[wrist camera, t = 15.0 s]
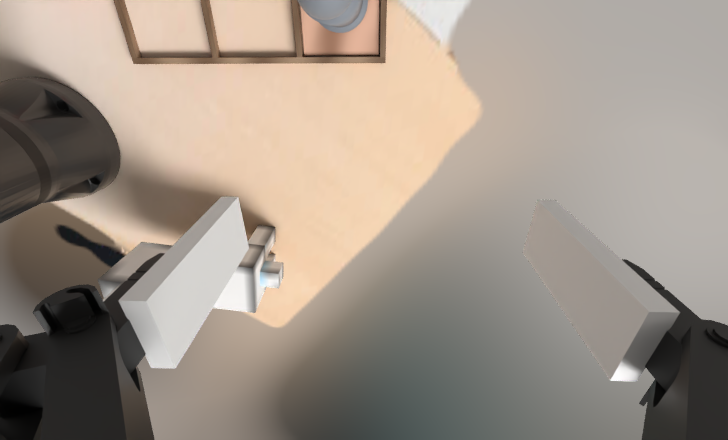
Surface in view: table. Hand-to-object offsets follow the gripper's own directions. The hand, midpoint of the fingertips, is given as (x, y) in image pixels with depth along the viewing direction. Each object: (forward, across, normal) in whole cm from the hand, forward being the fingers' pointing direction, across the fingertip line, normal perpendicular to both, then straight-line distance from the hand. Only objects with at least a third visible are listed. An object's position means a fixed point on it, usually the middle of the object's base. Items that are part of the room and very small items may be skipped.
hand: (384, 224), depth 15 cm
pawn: (+28, -4, +11) cm, 31 cm away
